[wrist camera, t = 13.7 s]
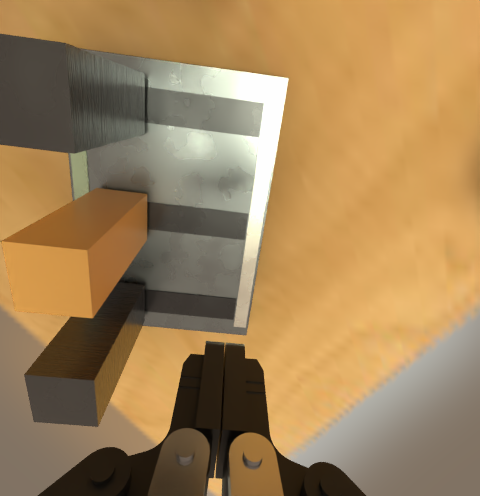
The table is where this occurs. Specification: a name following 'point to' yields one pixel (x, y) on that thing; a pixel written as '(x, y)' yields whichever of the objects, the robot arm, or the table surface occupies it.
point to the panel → (158, 196)
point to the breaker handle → (76, 253)
